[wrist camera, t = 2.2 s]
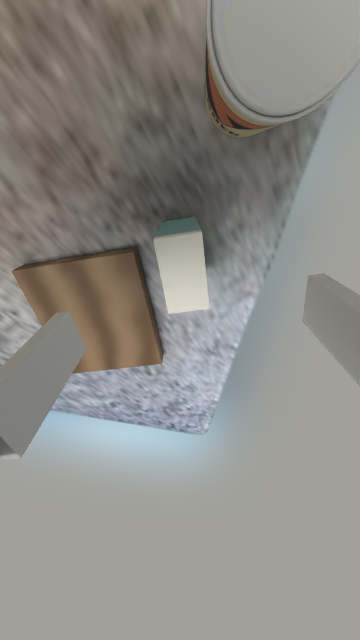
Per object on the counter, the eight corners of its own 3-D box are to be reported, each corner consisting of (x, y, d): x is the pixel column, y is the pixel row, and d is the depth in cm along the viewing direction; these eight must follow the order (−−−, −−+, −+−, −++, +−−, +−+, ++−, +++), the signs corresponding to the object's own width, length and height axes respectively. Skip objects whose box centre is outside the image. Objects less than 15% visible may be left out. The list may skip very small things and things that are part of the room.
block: (172, 275, 31) (168, 313, 22) (163, 221, 28) (153, 239, 18) (201, 271, 31) (209, 308, 21) (195, 216, 27) (202, 231, 18)
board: (74, 363, 40) (68, 373, 38) (23, 265, 31) (11, 271, 29) (163, 353, 38) (161, 363, 36) (136, 247, 29) (133, 252, 27)
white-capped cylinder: (176, 77, 21) (169, -26, 11) (265, -25, 18) (374, -304, 8) (229, 169, 25) (262, 157, 15) (311, 97, 22) (426, 17, 12)
